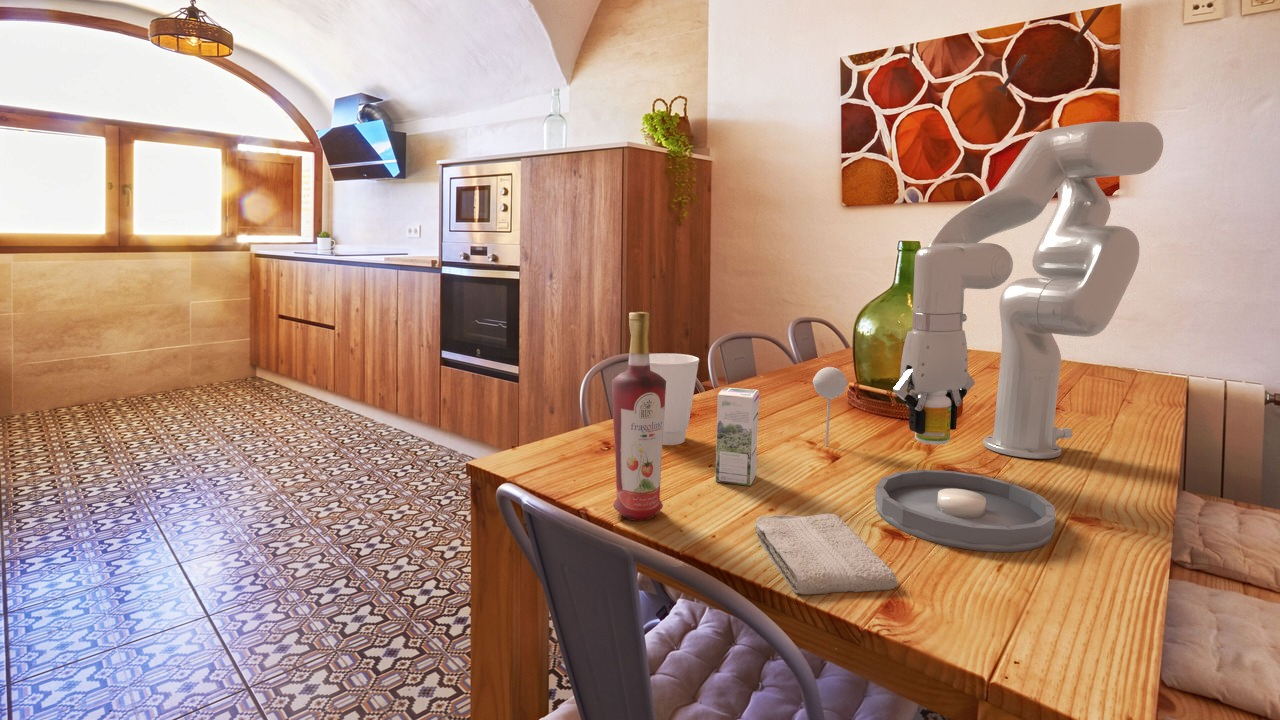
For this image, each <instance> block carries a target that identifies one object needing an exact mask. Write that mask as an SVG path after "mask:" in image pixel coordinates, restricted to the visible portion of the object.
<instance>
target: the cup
mask: <svg viewBox="0 0 1280 720" xmlns="http://www.w3.org/2000/svg"><path fill="white" fill-rule="evenodd" d="M649 360H650V371H653V372H655V373H657V374H659V375H660V376H661V377H662V378H663V379H665V380H666V392H665V413H664V427H663V440H662V446H675V445H676V446H677V445H680V444H681V445H682V444H683V443H685V441H686V435H687V434H686V433H687V430H688V428H689V424H690V418H691V413H692V407H693V406H692V405H693V401H694V400H693V399H694V393H695V386H696V382H697V374H698V369H699V363H700V358H699V357H697V356H694V355H691V354H683V353H668V352H667V353H651V354H650V353H649Z"/></svg>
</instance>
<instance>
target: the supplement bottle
mask: <svg viewBox="0 0 1280 720" xmlns="http://www.w3.org/2000/svg"><path fill="white" fill-rule="evenodd" d="M946 394H947V391H946V390H942V391H937V392H934V393H927V396H926V399H925V403H924V406H923V409H922V410H924V411H925V412H926V418H925V433H924V434H919V433H917V432H914V437H915V440H916V441H917V442H919V443H922V444H925V445H936V446H937V445H946V444H948V443H949V442H950V439H951V437H950V436H951V429H950V419H951V400H950V398H948V397H947V396H946Z"/></svg>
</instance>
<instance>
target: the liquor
mask: <svg viewBox="0 0 1280 720" xmlns="http://www.w3.org/2000/svg"><path fill="white" fill-rule="evenodd" d="M628 315H629V316H628V318H629V321H628V322H629V324H628V325H629V333H630V335H631V336H630V345H629V355H628V365H627V370H624V372H623V371H622V372H620V373H619V374H617V376H615V377H613V379H612V380H611V391H612V392H611V395H612V421H613V438H614V451H615V452H614V455H615V457H614V458H615V459H614V460H615V479H616V480H615V485H616V487H615V491H616V492H615V493H616V499H615V500H614V503H613V505H612V506H613V508H614V510H615V511H616V512H617V513H618V514H620V515H621V516H622V517H623V518H625V519H627V520H631V521H647V520H650V519H652V518H654V517H655V516H656V515H657V514H658V513H659V512H660V511H661V510H662V509H663V507H664V504H663V502H662V501H661V498H660V496H661V473H662V453H663V452H662V451H663V445H662V440H663V427H664V413H665V392H666V380H665V379H663V378H662V377H661V376H660V375H659V374H657V373H655V372H653V371H650V360H649V354H650V348H649V338H648V336H649V330H650V312H648V311H647V312H645V311H636V312H634V311H633V312H629V314H628Z"/></svg>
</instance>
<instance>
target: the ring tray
mask: <svg viewBox="0 0 1280 720" xmlns="http://www.w3.org/2000/svg"><path fill="white" fill-rule="evenodd" d="M874 492H875V493H874V501H875V509H876V512H877V513H878V515H879V516H880V518H882V519H883V520H884V521H885V522H886V523H888V524H889V525H891V526H892V527H894V528H896V529H898V530H900V531H902V532H903V533H904V532H905V533H906V534H909V535H911V536H913V537H916V538H919V539H922V540H924V541H927V542H930V543H931V542H932V543H936V544H939V545H943V546H947V547H952V548H957V549H962V550H967V551H969V550H970V551H978V552H988V553H1016V552H1026V551H1031V550H1035V549H1039V548H1041V547H1043V546H1045V545H1047V544H1048V543H1050V542H1051V540H1052V538H1053V534H1054V533H1055V526H1056V517H1057V516H1056V507H1055V505H1053V504H1052V503H1051V502H1050V501H1048V500H1047V499H1046V498H1045V497H1043V496H1042V495H1041V494H1038V493H1037V492H1034V491H1032V490H1029V489H1027V488H1025V487H1023V486H1020V485H1017V484H1016V483H1011V482H1008V481H1004V480H1002V479H1001V480H1000V479H997V478H994V477H993V478H992V477H989V476H985V475H980V474H973V473H967V472H960V471H954V470H938V469H935V470H934V469H933V470H932V469H918V470H906V471H896V472H894V473H892V474H888V475H886V476H882V477H881V478H880V480H879V481H878V482H877V484H876V485H875V491H874Z"/></svg>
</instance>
